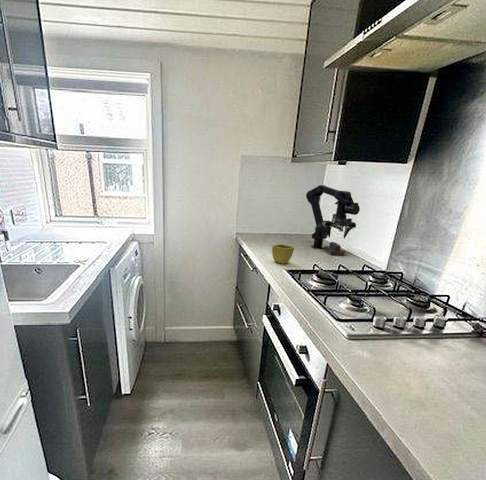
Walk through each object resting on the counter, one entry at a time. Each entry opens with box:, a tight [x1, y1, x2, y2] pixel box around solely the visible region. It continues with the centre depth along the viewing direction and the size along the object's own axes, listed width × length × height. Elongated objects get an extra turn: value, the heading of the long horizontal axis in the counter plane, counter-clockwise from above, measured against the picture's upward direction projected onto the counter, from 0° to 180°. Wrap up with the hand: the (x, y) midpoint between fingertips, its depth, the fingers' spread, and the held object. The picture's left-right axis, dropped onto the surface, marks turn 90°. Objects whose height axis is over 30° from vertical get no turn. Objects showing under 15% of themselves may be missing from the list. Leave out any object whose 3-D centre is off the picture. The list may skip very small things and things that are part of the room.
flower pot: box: [271, 243, 295, 265], centre depth 164 cm, size 9×9×9 cm
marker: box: [328, 241, 342, 251], centre depth 191 cm, size 11×3×3 cm, turn 177°
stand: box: [323, 245, 346, 257], centre depth 191 cm, size 14×8×2 cm, turn 177°
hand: (336, 237), depth 189 cm, fingers open, 9 cm apart
